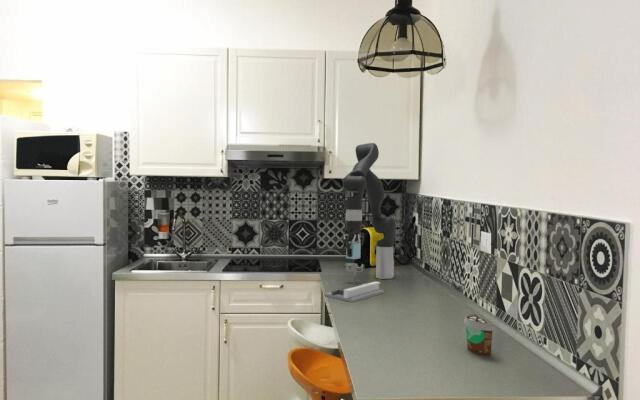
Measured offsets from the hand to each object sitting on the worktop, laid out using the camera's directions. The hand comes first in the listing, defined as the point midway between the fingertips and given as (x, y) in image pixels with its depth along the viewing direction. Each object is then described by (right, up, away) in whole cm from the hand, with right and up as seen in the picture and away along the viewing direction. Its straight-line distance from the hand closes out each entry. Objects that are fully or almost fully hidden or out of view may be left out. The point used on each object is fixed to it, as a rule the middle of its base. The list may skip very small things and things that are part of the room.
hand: (353, 256), depth 215 cm
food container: (+32, -21, -71) cm, 81 cm away
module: (0, -1, 0) cm, 1 cm away
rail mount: (+1, -18, 0) cm, 18 cm away
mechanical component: (+2, -17, +24) cm, 30 cm away
